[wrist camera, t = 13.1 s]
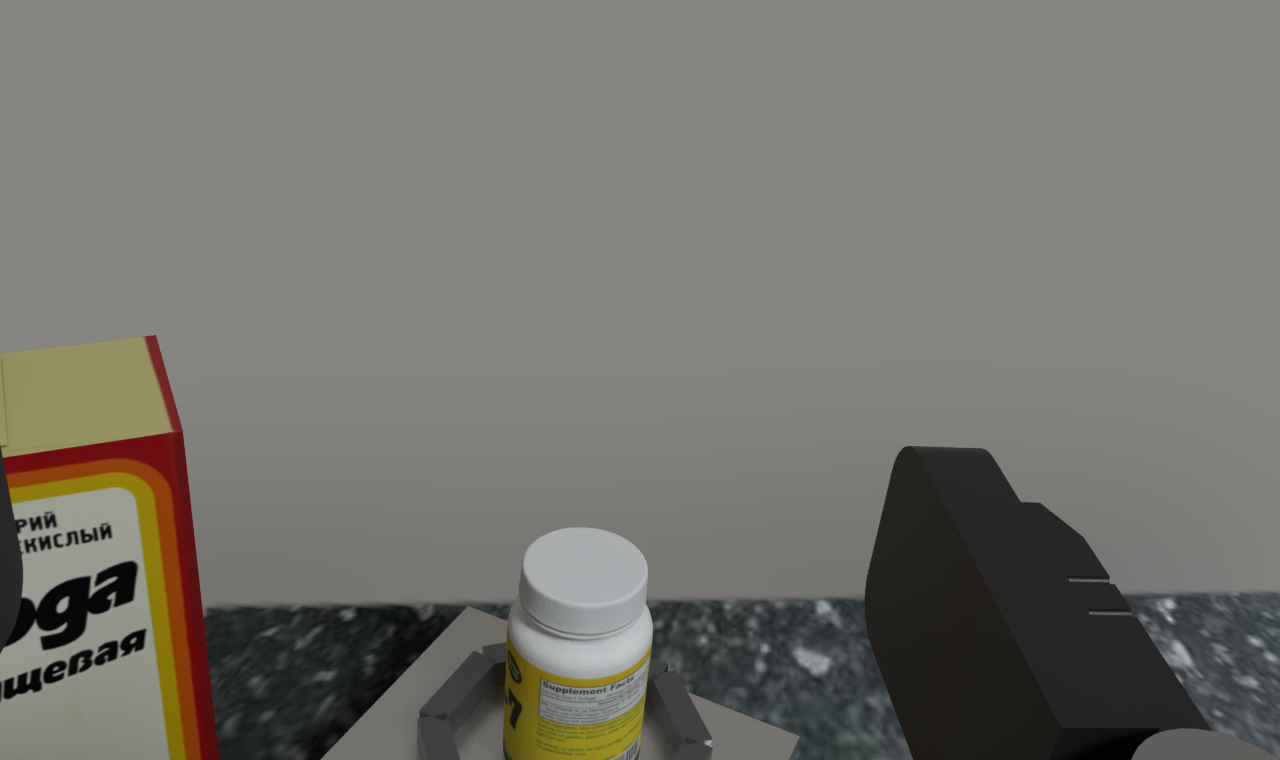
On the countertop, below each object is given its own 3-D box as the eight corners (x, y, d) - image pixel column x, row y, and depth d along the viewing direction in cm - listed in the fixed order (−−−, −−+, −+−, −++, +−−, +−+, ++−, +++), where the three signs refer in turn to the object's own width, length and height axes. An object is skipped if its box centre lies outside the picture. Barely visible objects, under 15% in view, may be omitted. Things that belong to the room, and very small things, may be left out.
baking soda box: (196, 677, 49) (154, 325, 42) (222, 795, 44) (181, 419, 37) (-71, 738, 46) (-171, 362, 38) (-75, 875, 40) (-191, 474, 33)
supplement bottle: (510, 701, 44) (519, 511, 40) (640, 712, 44) (662, 524, 40) (492, 805, 40) (500, 605, 36) (635, 818, 40) (659, 619, 36)
